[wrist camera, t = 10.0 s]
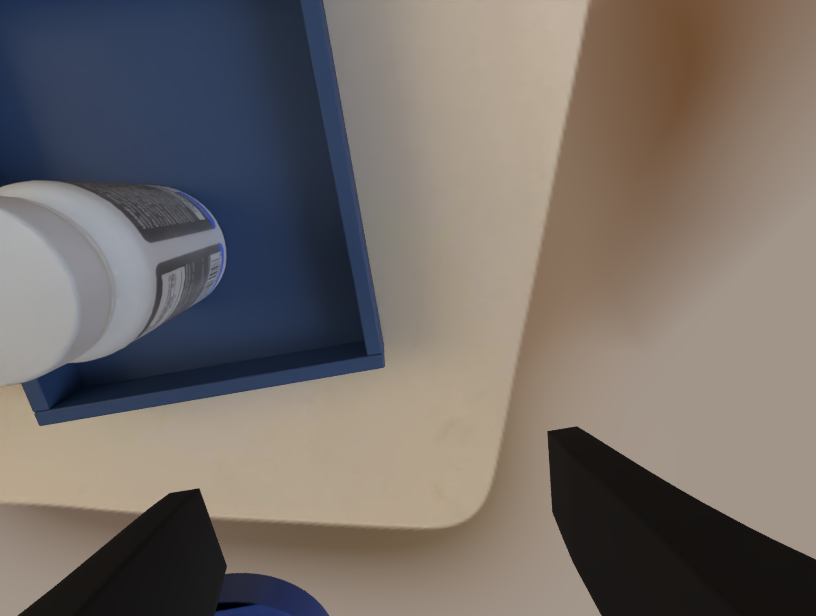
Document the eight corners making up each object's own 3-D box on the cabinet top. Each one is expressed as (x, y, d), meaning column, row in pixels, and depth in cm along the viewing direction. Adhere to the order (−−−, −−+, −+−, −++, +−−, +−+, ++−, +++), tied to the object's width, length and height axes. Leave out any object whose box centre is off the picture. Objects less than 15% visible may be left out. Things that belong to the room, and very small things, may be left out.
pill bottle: (80, 207, 16) (-223, 216, 8) (199, 169, 16) (18, 140, 8) (137, 322, 17) (-74, 432, 9) (248, 287, 17) (134, 367, 9)
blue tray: (384, 345, 19) (385, 368, 16) (84, 395, 19) (38, 427, 16) (312, -57, 15) (300, -108, 12) (-70, -4, 15) (-163, -46, 12)
